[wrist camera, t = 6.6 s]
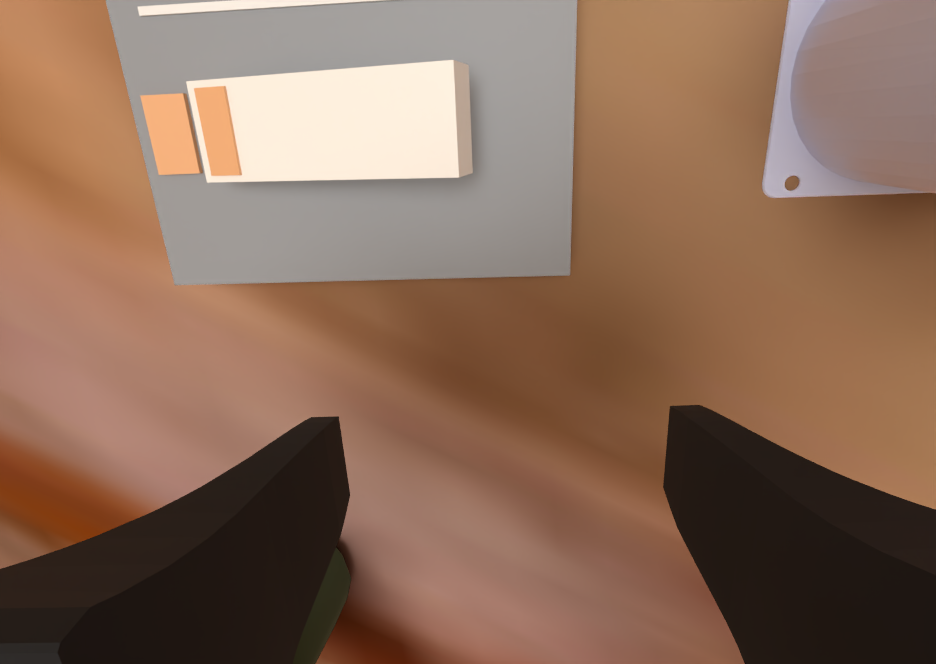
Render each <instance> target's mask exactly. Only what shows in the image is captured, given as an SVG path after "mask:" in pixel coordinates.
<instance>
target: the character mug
mask: <svg viewBox="0 0 936 664" xmlns="http://www.w3.org/2000/svg"><path fill="white" fill-rule="evenodd" d="M350 582H351V576H350V574H349V571H348V568H347V566H346V563H345V560H344V558H343V555H342V554H341V553H340V552H339V550H338V549H337V548H336V549H335V551H334V554H333V556H332V559H331V562H330V564H329V567H328V569H327V572H326V574H325V577H324V579H323V582H322V584H321V587H320V590H319V592H318V595H317V597H316V600H315V602H314V605H313V607H312V610H311V612H310V615H309V617H308V620H307V622H306V625H305V627H304V630H303V633H302V636H301V639H300V642H299V645H298V647H297V650H296V654H295V657H294V661H293V664H315V663H316V661H317V659H318V657H319V656H320V654H321V652H322V650H323V648H324V646H325V644H326V642H327V640H328V638H329V636H330V634H331V632H332V630H333V628H334V626H335V624H336V622H337V620H338V617H339V615H340V613H341V611H342V609H343V606H344V604H345V602H346V600H347V597H348V592H349V587H350Z"/></svg>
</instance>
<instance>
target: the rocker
mask: <svg viewBox="0 0 936 664" xmlns="http://www.w3.org/2000/svg"><path fill="white" fill-rule="evenodd" d="M186 84H187V89H188V93H189V98H190V103H191V108H192V113H193V118H194V122H195V127H196V132H197V137H198V142H199V147H200V151H201V156H202V161H203V166H204V171H205V176H206V180H207V183H211V182H261V181H311V180H361V179H411V178H459V177H462V176H465V175H468V174H471V173H473V166H472V140H471V113H470V87H469V65H467V64H464V63H461V62H459V61H456V60H444V61H432V62H419V63H407V64H395V65H382V66H370V67H358V68H345V69H333V70H321V71H308V72H296V73H283V74H271V75H259V76H246V77H234V78H222V79H209V80H197V81H186Z"/></svg>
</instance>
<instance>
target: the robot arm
mask: <svg viewBox="0 0 936 664" xmlns="http://www.w3.org/2000/svg"><path fill="white" fill-rule="evenodd" d="M793 175H794V176H797V178H798V179H799V184H798V186H797V187H796V188H795V189H794V190H791V191H789V190H787V189H786V188H785V185H784V183H785V181H786V179H787V178H788V177H790V176H793ZM762 190H763V192H764V194H765V195H767V196H768V197H772V198H789V197H819V196H848V195H877V194H906V193H936V0H789V2H788V9H787V16H786V23H785V29H784V36H783V43H782V50H781V57H780V64H779V71H778V77H777V84H776V91H775V98H774V105H773V112H772V119H771V125H770V132H769V139H768V146H767V153H766V160H765V167H764V173H763V180H762ZM663 488H664V491H665V494H666V497H667V500H668V503H669V505H670V508H671V511H672V514H673V517H674V519H675V522H676V525H677V528H678V530H679V532H680V534H681V536H682V538H683V540H684V542H685V544H686V546H687V547H688V549H689V551H690V553H691V555H692V557H693V559H694V561H695V563H696V565H697V567H698V569H699V571H700V573H701V574H702V576H703V578H704V580H705V582H706V584H707V586H708V588H709V590H710V592H711V594H712V595H713V597H714V599H715V601H716V603H717V605H718V607H719V609H720V611H721V613H722V615H723V616H724V618H725V620H726V622H727V624H728V626H729V628H730V631H731V633H732V635H733V637H734V639H735V641H736V643H737V645H738V648H739V650H740V653H741V655H742V658H743V660H744V663H745V664H936V510H935V509H932V508H929V507H925V506H922V505H919V504H916V503H913V502H910V501H907V500H905V499H902V498H899V497H896V496H893V495H890V494H888V493H885V492H883V491H880V490H878V489H875V488H872V487H870V486H867V485H865V484H862V483H860V482H857V481H854V480H852V479H850V478H847V477H845V476H842V475H840V474H838V473H835V472H833V471H831V470H829V469H827V468H824V467H822V466H820V465H818V464H816V463H814V462H812V461H809V460H807V459H805V458H803V457H801V456H799V455H797V454H795V453H793V452H791V451H789V450H787V449H785V448H783V447H781V446H779V445H777V444H775V443H773V442H771V441H769V440H767V439H765V438H763V437H762V436H760V435H758V434H756V433H754V432H752V431H750V430H748V429H747V428H745V427H743V426H741V425H739V424H737V423H735V422H733V421H732V420H730V419H728V418H726V417H724V416H722V415H720V414H718V413H716V412H714V411H712V410H710V409H708V408H705V407H703V406H700V405H687V406H670V413H669V425H668V437H667V449H666V461H665V473H664V485H663ZM349 498H350V491H349V484H348V478H347V471H346V464H345V457H344V450H343V444H342V437H341V430H340V423H339V417H311V418H309V419H307V420H305V421H304V422H302V423H300V424H299V425H297V426H296V427H294V428H292V429H291V430H289V431H288V432H286V433H285V434H283V435H282V436H280V437H279V438H277V439H276V440H275V441H273V442H272V443H270V444H269V445H267V446H266V447H264V448H263V449H261V450H260V451H258V452H257V453H255V454H254V455H252V456H251V457H249V458H248V459H246V460H244V461H243V462H241V463H240V464H238V465H236V466H235V467H233V468H231V469H230V470H228V471H227V472H225V473H223V474H222V475H220V476H218V477H217V478H215V479H213V480H212V481H210V482H209V483H207V484H205V485H203V486H202V487H200V488H198V489H196V490H194V491H193V492H191V493H189V494H187V495H185V496H183V497H181V498H179V499H177V500H175V501H173V502H171V503H169V504H167V505H166V506H164V507H162V508H160V509H158V510H155V511H153V512H151V513H149V514H147V515H145V516H142V517H140V518H138V519H135V520H133V521H130V522H128V523H126V524H123V525H121V526H119V527H116V528H114V529H112V530H109V531H107V532H105V533H102V534H100V535H98V536H95V537H93V538H90V539H87V540H85V541H82V542H79V543H77V544H74V545H71V546H68V547H66V548H63V549H60V550H57V551H54V552H51V553H49V554H46V555H43V556H40V557H37V558H34V559H31V560H28V561H25V562H22V563H18V564H15V565H12V566H9V567H6V568H2V569H0V664H293V661H294V657H295V654H296V650H297V647H298V645H299V642H300V639H301V636H302V633H303V630H304V627H305V625H306V622H307V620H308V617H309V615H310V612H311V610H312V607H313V605H314V602H315V600H316V597H317V595H318V592H319V590H320V587H321V584H322V582H323V579H324V577H325V574H326V572H327V569H328V567H329V564H330V562H331V559H332V556H333V554H334V551H335V549H336V546H337V543H338V541H339V538H340V535H341V531H342V527H343V523H344V520H345V515H346V511H347V506H348V502H349Z"/></svg>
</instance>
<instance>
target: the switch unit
mask: <svg viewBox="0 0 936 664" xmlns="http://www.w3.org/2000/svg"><path fill="white" fill-rule="evenodd" d="M106 4H107V8H108V12H109V16H110V20H111V24H112V28H113V32H114V37H115V41H116V45H117V49H118V53H119V57H120V61H121V65H122V70H123V74H124V78H125V82H126V86H127V90H128V94H129V98H130V102H131V107H132V111H133V115H134V119H135V123H136V127H137V131H138V135H139V139H140V144H141V148H142V152H143V156H144V160H145V164H146V168H147V172H148V177H149V181H150V185H151V189H152V193H153V197H154V201H155V205H156V209H157V214H158V218H159V222H160V226H161V230H162V234H163V238H164V242H165V246H166V251H167V255H168V259H169V263H170V267H171V271H172V275H173V279H174V283H175V285H200V284H241V283H282V282H322V281H363V280H403V279H444V278H484V277H525V276H565V275H570V261H571V222H572V182H573V143H574V104H575V64H576V25H577V0H106ZM444 60H456V61H459V62H461V63H464V64H467V65H469V87H470V113H471V140H472V166H473V173H471V174H468V175H465V176H462V177H459V178H411V179H361V180H311V181H261V182H211V183H207V180H206V176H205V171H204V166H203V161H202V156H201V151H200V147H199V142H198V137H197V132H196V127H195V122H194V118H193V113H192V108H191V103H190V98H189V93H188V89H187V84H186V81H197V80H209V79H222V78H234V77H246V76H259V75H271V74H283V73H296V72H308V71H321V70H333V69H345V68H358V67H370V66H382V65H395V64H407V63H419V62H432V61H444Z"/></svg>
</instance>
